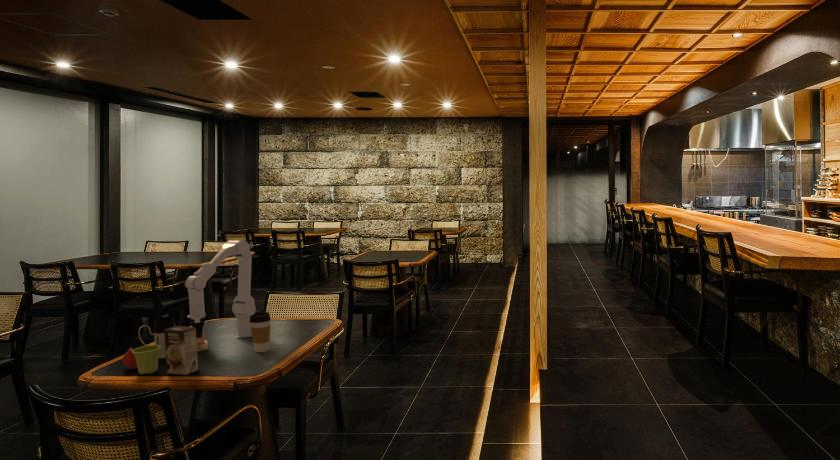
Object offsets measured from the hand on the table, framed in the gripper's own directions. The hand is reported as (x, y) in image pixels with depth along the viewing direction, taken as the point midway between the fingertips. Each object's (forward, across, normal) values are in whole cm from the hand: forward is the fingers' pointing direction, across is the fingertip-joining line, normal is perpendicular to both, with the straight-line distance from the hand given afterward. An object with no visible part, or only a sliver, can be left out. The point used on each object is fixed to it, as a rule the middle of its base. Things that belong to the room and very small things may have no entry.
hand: (199, 336), depth 225 cm
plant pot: (+6, +24, -17) cm, 30 cm away
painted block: (+2, 0, 0) cm, 2 cm away
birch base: (+6, 0, 0) cm, 6 cm away
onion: (+6, +17, -23) cm, 29 cm away
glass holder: (+6, +4, -15) cm, 17 cm away
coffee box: (+6, +30, -5) cm, 31 cm away
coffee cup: (+6, +15, +24) cm, 29 cm away
